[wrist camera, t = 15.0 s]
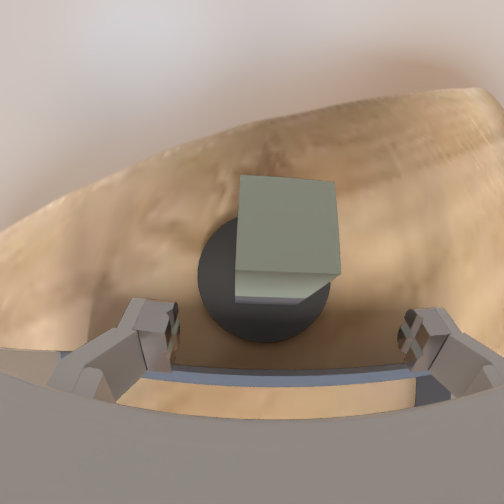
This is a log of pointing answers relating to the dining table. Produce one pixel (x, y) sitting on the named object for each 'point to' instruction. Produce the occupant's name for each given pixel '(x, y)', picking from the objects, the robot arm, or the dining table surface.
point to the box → (285, 239)
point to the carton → (239, 374)
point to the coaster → (248, 315)
